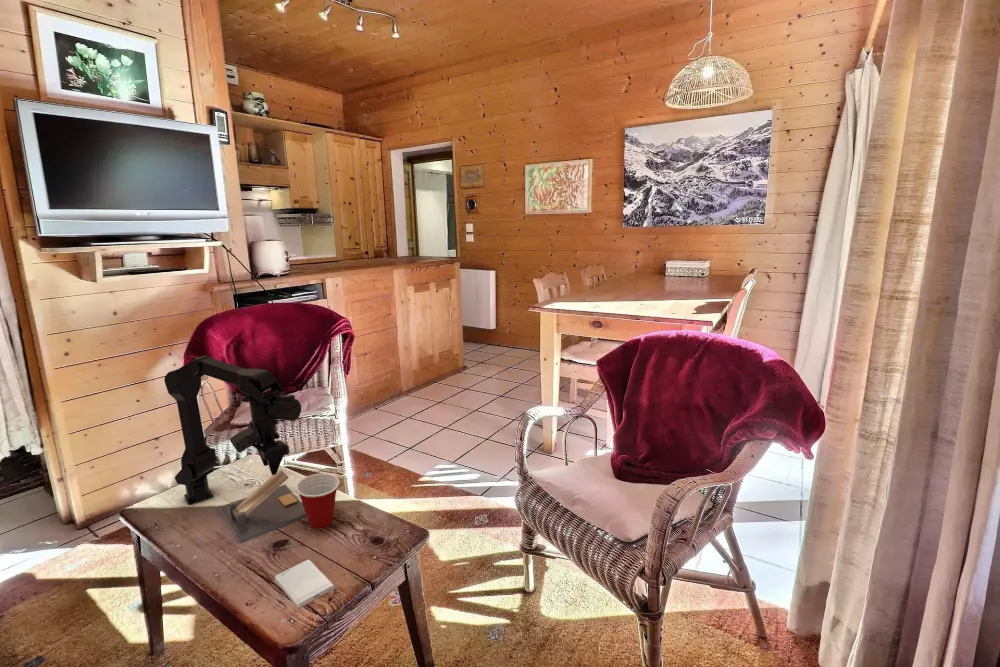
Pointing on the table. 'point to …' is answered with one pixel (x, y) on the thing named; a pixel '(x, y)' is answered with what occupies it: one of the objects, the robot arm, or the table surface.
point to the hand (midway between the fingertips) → (270, 469)
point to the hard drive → (304, 583)
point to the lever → (261, 493)
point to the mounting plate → (264, 514)
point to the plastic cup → (318, 498)
